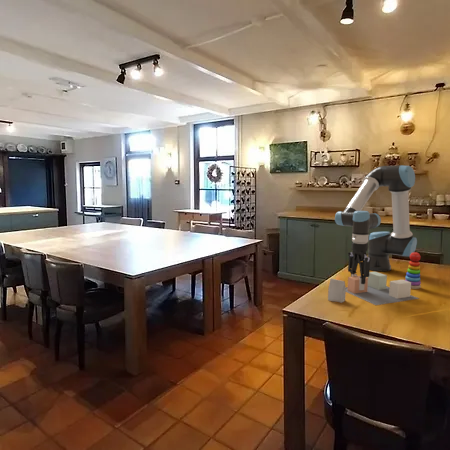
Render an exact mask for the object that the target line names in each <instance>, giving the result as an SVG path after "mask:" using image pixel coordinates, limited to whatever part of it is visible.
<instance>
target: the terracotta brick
mask: <svg viewBox="0 0 450 450" xmlns="http://www.w3.org/2000/svg"><path fill="white" fill-rule="evenodd" d="M359 277H361V275H357V276H353V277H351V276H348V277H347V287H348V290H347V291H350V292H352V293H354V294H355V293H362V292H367V288H368V277H366V279H365V285H364V290H359Z"/></svg>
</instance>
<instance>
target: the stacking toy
mask: <svg viewBox="0 0 450 450" xmlns="http://www.w3.org/2000/svg"><path fill="white" fill-rule="evenodd" d="M409 259H410V261H408V266H407V267H408V268H407V272H406V273H405V274H406V275H405V276H404V277H405V279H404V280H405V281H408V282H411V290H412V289H413V290H420V289H421V288H422V286H421V284H422V282H421V270H420V269H421V266H420V265H421V263H420V260H421V255H420V253H419V252H417V251H416V252H415V251H414V252H413V253H411V254H410V256H409Z"/></svg>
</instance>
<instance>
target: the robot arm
mask: <svg viewBox="0 0 450 450" xmlns="http://www.w3.org/2000/svg"><path fill="white" fill-rule="evenodd" d="M361 182H362V183H361V185H360V186H359V188H358V189H357V191H356V192H355V194H354V195H353V197H352V198H351V200H350V201H349V203H348V204H347V205H346V207H345V209H344V210H340V211H337V212H336V213H335V216H334V222H335V224H336V225H338V226H343V227H352V236H351V241H352V242H351V250H352V251H351V252H348V253H347V254H348V264H347V266H348V267H347V272H348V273H350V277H353V276H358V274H357V269H358V266H359V272H360V273H359V274H360V276H361V277H359V290H364V285H365V279H366V278H368V277H369V272H370V271H372V272H389V271H391V270H392V265H391V262H390V258H389V255H394V256H395V255H396V256H399V257H400V256H401V257H410V254H411V253H413V252H415V251H416V248H417V244H418V240H417V239H418V238H417V237H414V235H413V232H412V231H411V229H410V204H409V203H410V201H409V200H410V199H409V192H410V191H411V190H412V187H414V186H415V183H416V174H415V170H414V169H413V167H412V166H410V165H402V164H399V165H381V166H378V167H375V168H374V169H372V170H370V172H368V173H367V174H366V175H365V176H364V178H363V179H362V181H361ZM380 187H388V189H387V190H388V192H390V193H391V207H392V208H391V210H392V225H393V226H392V229H393V230H392V232H390V231H373V232H371V233H369V231H370V229H371V230H372V229H375V228H377V227H379V226H380V224H381V223H382V218H381V216H380V215H379V214H378V213H376V212H375V213H373V212H369V211H368V210H363V208H364V207H365V205H366V204H367V202H368V201H369V199H370V198H371V196H372V195H373V193H374V192H375V191H377V190H378V189H379V188H380ZM367 252H368V254H367Z"/></svg>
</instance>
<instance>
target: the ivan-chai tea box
mask: <svg viewBox="0 0 450 450" xmlns="http://www.w3.org/2000/svg"><path fill="white" fill-rule="evenodd" d="M346 293H347V292H346V281H345V280H341V279H336V278H335V279H334V278H330V279H329V284H328V293H327V301H330V302H335V303H336V302H338V303H340V304H341V303H344V302H345V301H346Z"/></svg>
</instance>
